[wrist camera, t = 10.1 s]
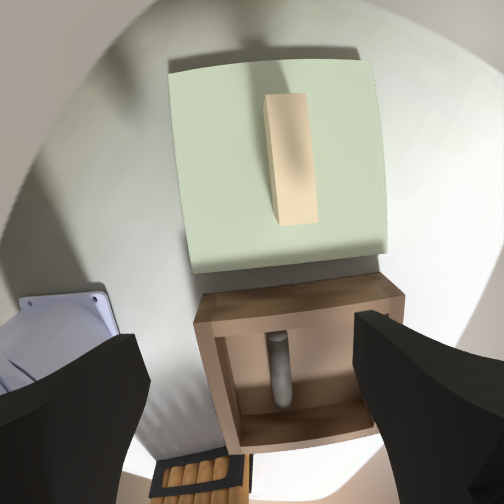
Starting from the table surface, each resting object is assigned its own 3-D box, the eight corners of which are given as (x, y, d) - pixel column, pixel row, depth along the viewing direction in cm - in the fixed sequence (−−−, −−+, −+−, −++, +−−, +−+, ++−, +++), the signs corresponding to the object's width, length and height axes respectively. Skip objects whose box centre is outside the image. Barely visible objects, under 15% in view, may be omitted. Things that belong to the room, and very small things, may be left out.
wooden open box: (231, 419, 23) (229, 454, 19) (203, 294, 20) (192, 323, 16) (369, 400, 23) (383, 431, 19) (380, 271, 20) (405, 294, 16)
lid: (197, 264, 20) (180, 297, 15) (175, 81, 17) (150, 54, 12) (376, 245, 20) (413, 271, 14) (361, 69, 16) (394, 42, 11)
